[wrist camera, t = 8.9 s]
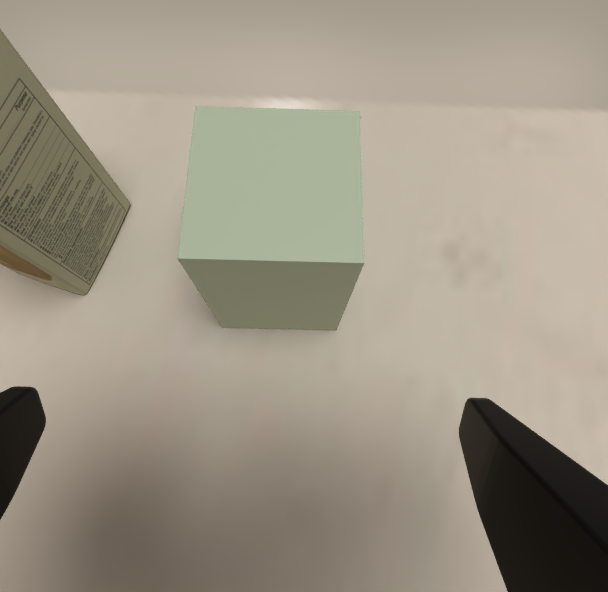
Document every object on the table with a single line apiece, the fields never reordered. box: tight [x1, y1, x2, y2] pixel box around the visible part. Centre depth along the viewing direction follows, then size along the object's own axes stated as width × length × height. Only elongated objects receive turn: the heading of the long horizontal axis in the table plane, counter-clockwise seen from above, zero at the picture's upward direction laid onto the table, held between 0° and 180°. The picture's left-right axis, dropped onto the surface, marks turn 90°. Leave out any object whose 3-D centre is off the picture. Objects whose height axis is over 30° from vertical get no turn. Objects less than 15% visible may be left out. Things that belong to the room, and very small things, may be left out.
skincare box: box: [0, 29, 130, 295], centre depth 19 cm, size 6×4×12 cm
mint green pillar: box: [178, 106, 364, 330], centre depth 20 cm, size 6×6×10 cm
